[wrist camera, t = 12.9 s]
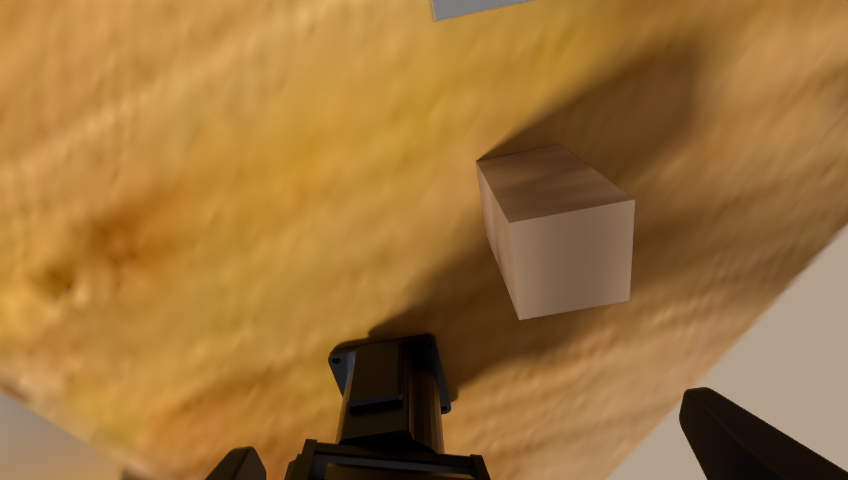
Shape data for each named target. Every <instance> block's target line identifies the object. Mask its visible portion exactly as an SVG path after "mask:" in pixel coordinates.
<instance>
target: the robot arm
mask: <svg viewBox="0 0 848 480" xmlns="http://www.w3.org/2000/svg"><path fill="white" fill-rule="evenodd" d="M426 342H431V343H429V344H426ZM335 358H339V359H335ZM328 362H329V365H330V367H331V370H332V372H333V375H334V377H335V380H336V382H337V385H338V387H339V389H340V392H341V394H342V397H343V402H342V408H341V414H340V419H339V425H338V431H337V436H336V442H335V444H334V443H323V442H317V440H314V439H306V441H305V444H304V447H303V451H302V454H298V455H297V458H296V460H294V461H292V462H290V463H289V465H288V468H287V472H286V476H285V479H284V480H491V479H490V477H489V474H488V471H487V468H486V466H485V463H484V460H483V458H482V455H473V454H471V455H470V456H463V455H452V454H445V453H444V442H443V430H442V419H441V415H442V414H446V413H448V412H450V410H451V402H450V398H449V394H448V389H447V385H446V381H445V376H444V372H443V367H442V363H441V359H440V354H439V350H438V346H437V341H436V338H435V337H434V336H433V335H431V334H424V335H418V336H412V337H407V338H401V339H395V340H389V341H383V342H378V343H372V344H366V345H360V346H354V347H349V348H343V349H337V350H333V351H332V352H330V354H329V358H328ZM679 421H680V425H681V428H682V430H683V432H684V434H685V436H686V438H687V440H688V442H689V444H690V446H691V448H692V450H693V452H694V453H695V456H696V458H697V460H698V462H699V464H700V466H701V468H702V470H703V472H704V474H705V476H706V478H707V480H848V472H847V471H845V470H843V469H842V468H840V467H839V466H837V465H835V464H834V463H832V462H830V461H829V460H827V459H825V458H824V457H822V456H820V455H819V454H817V453H815V452H814V451H812V450H811V449H809V448H807V447H806V446H804V445H802V444H801V443H799V442H798V441H796V440H794V439H793V438H791V437H789V436H788V435H786V434H784V433H783V432H781V431H779V430H778V429H776V428H775V427H773V426H771V425H770V424H768V423H766V422H765V421H763V420H761V419H760V418H758V417H757V416H755V415H753V414H752V413H750V412H748V411H747V410H745V409H743V408H742V407H740V406H738V405H737V404H735V403H734V402H732V401H730V400H729V399H727V398H725V397H724V396H722V395H720V394H719V393H717V392H715V391H714V390H712V389H710V388H707V387H700V388H693V389H687V390H686V391H685V392H684V395H683V400H682V404H681V409H680V414H679ZM204 480H266V470H265V468H264V466H263V464H262V462H261V460H260V458H259V456H258V454H257V452H256V450H255V449H254V448H253V447H251V446H247V447H239V448H234V449H232V450H231V451H230V452H229V453H228V454H227V455H226V456H225V457H224V458H223V459H222V460H221V461H220V463H219V464H218V465H217V466H216V467H215V468H214V469H213V470H212V472H211V473H210V474H209V475H208V476H207V477H206V478H205V479H204Z"/></svg>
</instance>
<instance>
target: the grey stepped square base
mask: <svg viewBox="0 0 848 480" xmlns="http://www.w3.org/2000/svg"><path fill="white" fill-rule="evenodd" d="M529 1H533V0H430V5H431V12H432V18H433V22H436V21H440V20H445V19H450V18H454V17H459V16H464V15H468V14H473V13H478V12H482V11H487V10H492V9H496V8H501V7H505V6H510V5H515V4H519V3H524V2H529Z"/></svg>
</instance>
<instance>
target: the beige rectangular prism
mask: <svg viewBox="0 0 848 480" xmlns="http://www.w3.org/2000/svg"><path fill="white" fill-rule="evenodd" d="M476 165H477V173H478V180H479V187H480V195H481V202H482V209H483V216H484V224H485V231H486V236H487V238H488V241H489V244H490V246H491V249H492V251H493V254H494V257H495V259H496V262H497V264H498V267H499V269H500V272H501V275H502V277H503V280H504V282H505V285H506V287H507V290H508V293H509V295H510V298H511V300H512V303H513V305H514V308H515V311H516V313H517V316H518V318H519V320H523V319H529V318H534V317H540V316H546V315H551V314H557V313H563V312H569V311H574V310H580V309H586V308H591V307H597V306H603V305H608V304H614V303H620V302H626V301H630V283H631V266H632V248H633V230H634V213H635V199H634V198H633V197H631V196H630V195H629V194H627V193H626V192H625V191H623V190H622V189H620V188H619V187H618V186H616V185H615V184H614V183H612V182H611V181H610V180H608V179H607V178H605V177H604V176H603V175H601V174H600V173H599V172H597V171H596V170H595V169H593V168H592V167H590V166H589V165H588V164H586V163H585V162H584V161H582V160H581V159H580V158H578V157H577V156H575V155H574V154H573V153H571V152H570V151H569V150H567V149H566V148H565V147H563V146H562V145H560V144H559V145H554V146H549V147H544V148H539V149H534V150H529V151H523V152H518V153H513V154H508V155H503V156H498V157H493V158H488V159H483V160H478V161H476Z"/></svg>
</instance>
